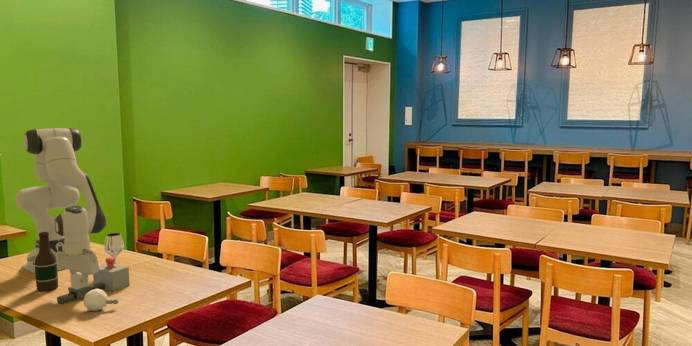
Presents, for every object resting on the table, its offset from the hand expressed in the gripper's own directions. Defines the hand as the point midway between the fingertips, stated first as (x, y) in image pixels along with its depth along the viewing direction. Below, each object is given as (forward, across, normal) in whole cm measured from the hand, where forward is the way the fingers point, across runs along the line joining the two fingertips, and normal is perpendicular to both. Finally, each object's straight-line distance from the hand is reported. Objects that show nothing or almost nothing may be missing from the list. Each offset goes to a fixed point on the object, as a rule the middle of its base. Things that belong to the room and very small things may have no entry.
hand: (79, 281), depth 198 cm
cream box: (+6, 0, 0) cm, 6 cm away
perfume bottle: (+6, -19, +5) cm, 21 cm away
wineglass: (+6, +13, -26) cm, 30 cm away
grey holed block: (+6, 0, -14) cm, 15 cm away
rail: (+6, 0, -1) cm, 6 cm away
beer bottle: (+6, +20, +1) cm, 21 cm away
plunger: (+3, 0, -14) cm, 15 cm away
